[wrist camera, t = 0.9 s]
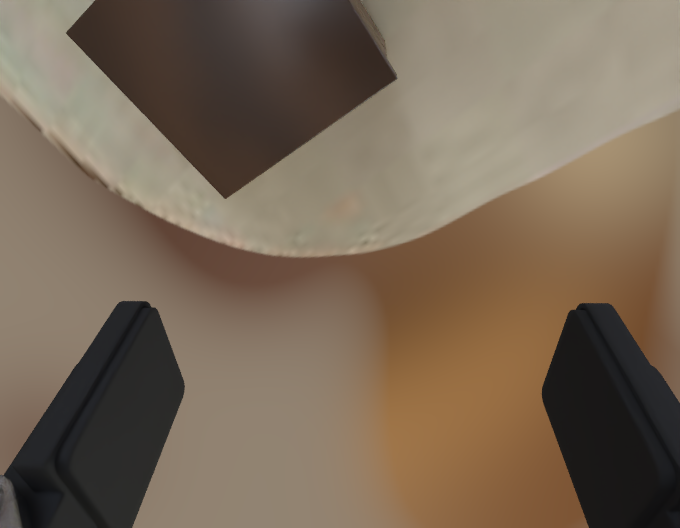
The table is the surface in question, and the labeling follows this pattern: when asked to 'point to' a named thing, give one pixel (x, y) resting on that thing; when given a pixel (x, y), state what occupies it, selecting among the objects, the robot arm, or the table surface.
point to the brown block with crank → (237, 73)
